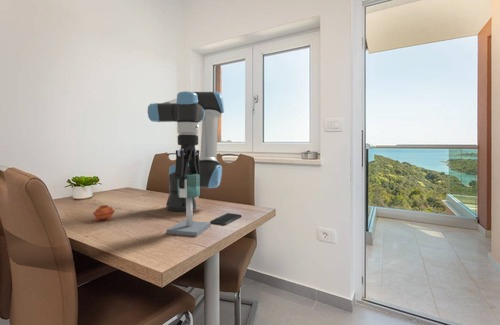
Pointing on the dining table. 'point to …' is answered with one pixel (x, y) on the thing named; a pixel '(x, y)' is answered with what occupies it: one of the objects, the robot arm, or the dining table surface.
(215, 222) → the phone
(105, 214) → the pot
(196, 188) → the bead
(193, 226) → the spindle plate
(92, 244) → the dining table surface
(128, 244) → the dining table surface
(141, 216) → the dining table surface
